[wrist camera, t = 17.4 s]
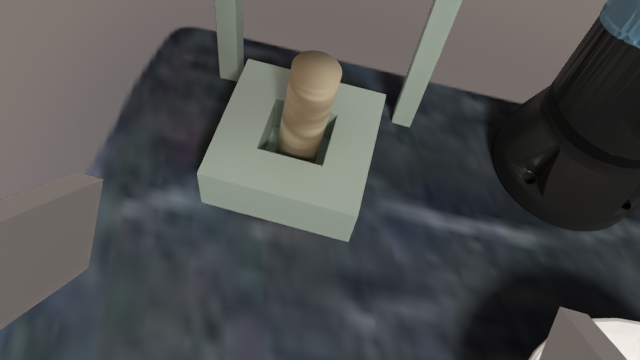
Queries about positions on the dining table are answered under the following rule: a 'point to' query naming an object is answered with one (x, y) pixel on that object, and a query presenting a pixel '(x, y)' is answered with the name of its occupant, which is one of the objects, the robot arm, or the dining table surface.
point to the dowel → (308, 104)
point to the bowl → (613, 337)
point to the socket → (336, 146)
